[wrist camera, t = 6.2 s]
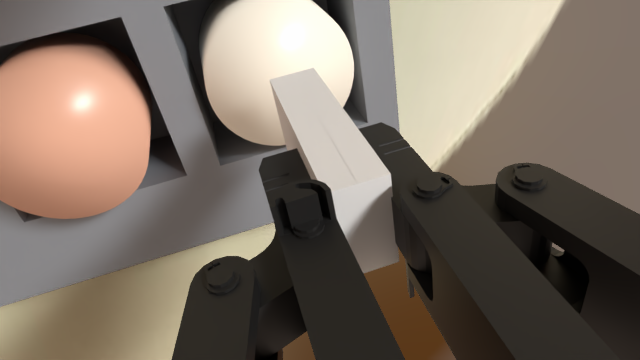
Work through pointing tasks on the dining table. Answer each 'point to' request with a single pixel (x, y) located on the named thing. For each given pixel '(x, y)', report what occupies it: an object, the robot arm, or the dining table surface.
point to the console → (170, 140)
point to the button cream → (267, 59)
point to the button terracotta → (71, 126)
